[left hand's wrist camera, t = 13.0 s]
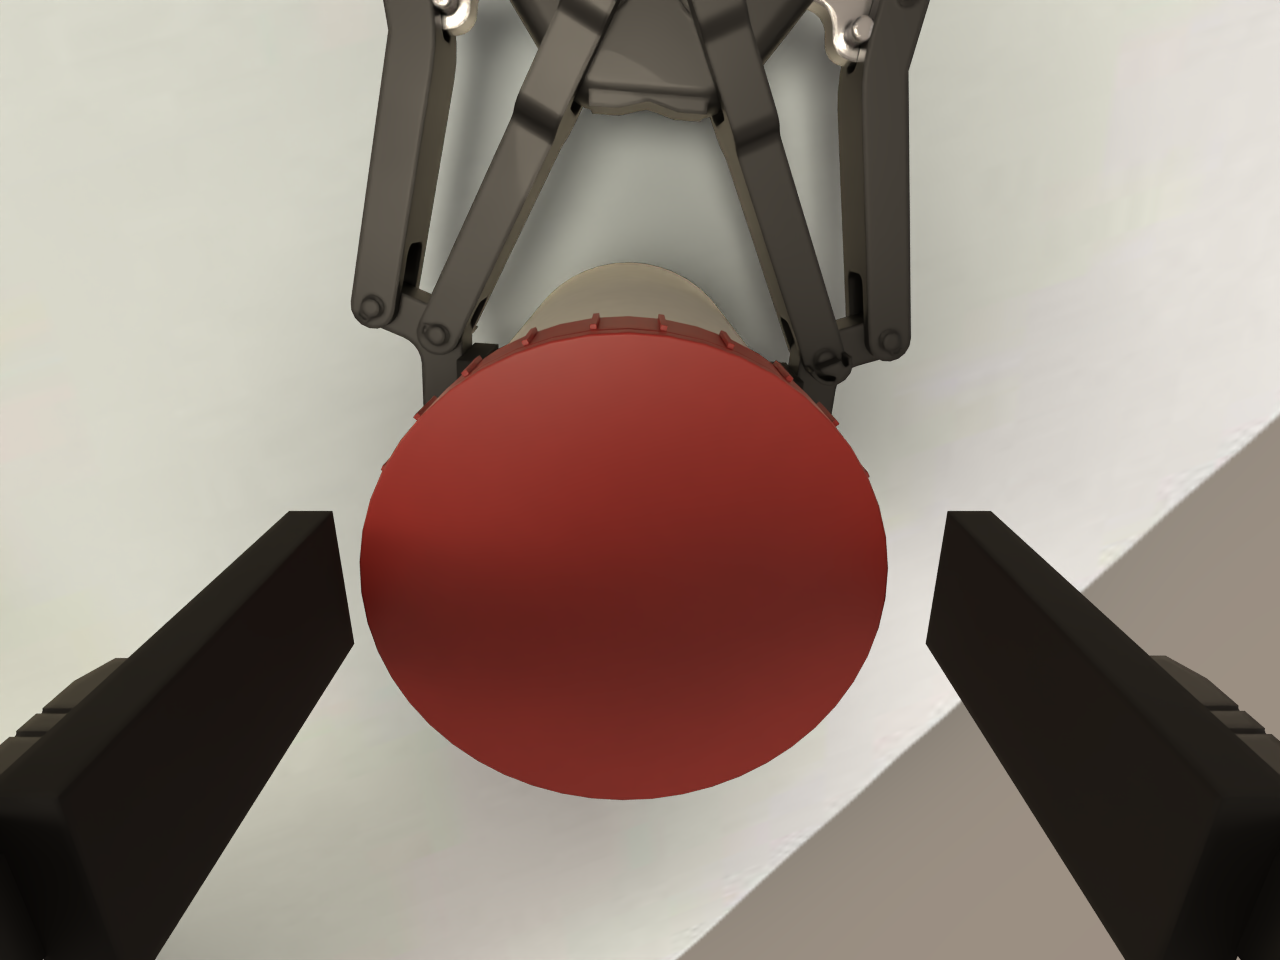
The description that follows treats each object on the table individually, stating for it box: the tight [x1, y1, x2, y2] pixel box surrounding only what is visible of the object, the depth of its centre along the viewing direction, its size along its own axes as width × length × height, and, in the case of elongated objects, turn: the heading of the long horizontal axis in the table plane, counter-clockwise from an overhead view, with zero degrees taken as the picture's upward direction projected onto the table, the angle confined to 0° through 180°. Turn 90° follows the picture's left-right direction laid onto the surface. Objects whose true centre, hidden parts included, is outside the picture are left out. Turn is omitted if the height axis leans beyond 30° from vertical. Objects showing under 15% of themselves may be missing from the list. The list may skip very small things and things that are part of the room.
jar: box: [509, 263, 748, 348], centre depth 21 cm, size 9×9×17 cm
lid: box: [360, 313, 888, 800], centre depth 14 cm, size 9×9×2 cm
